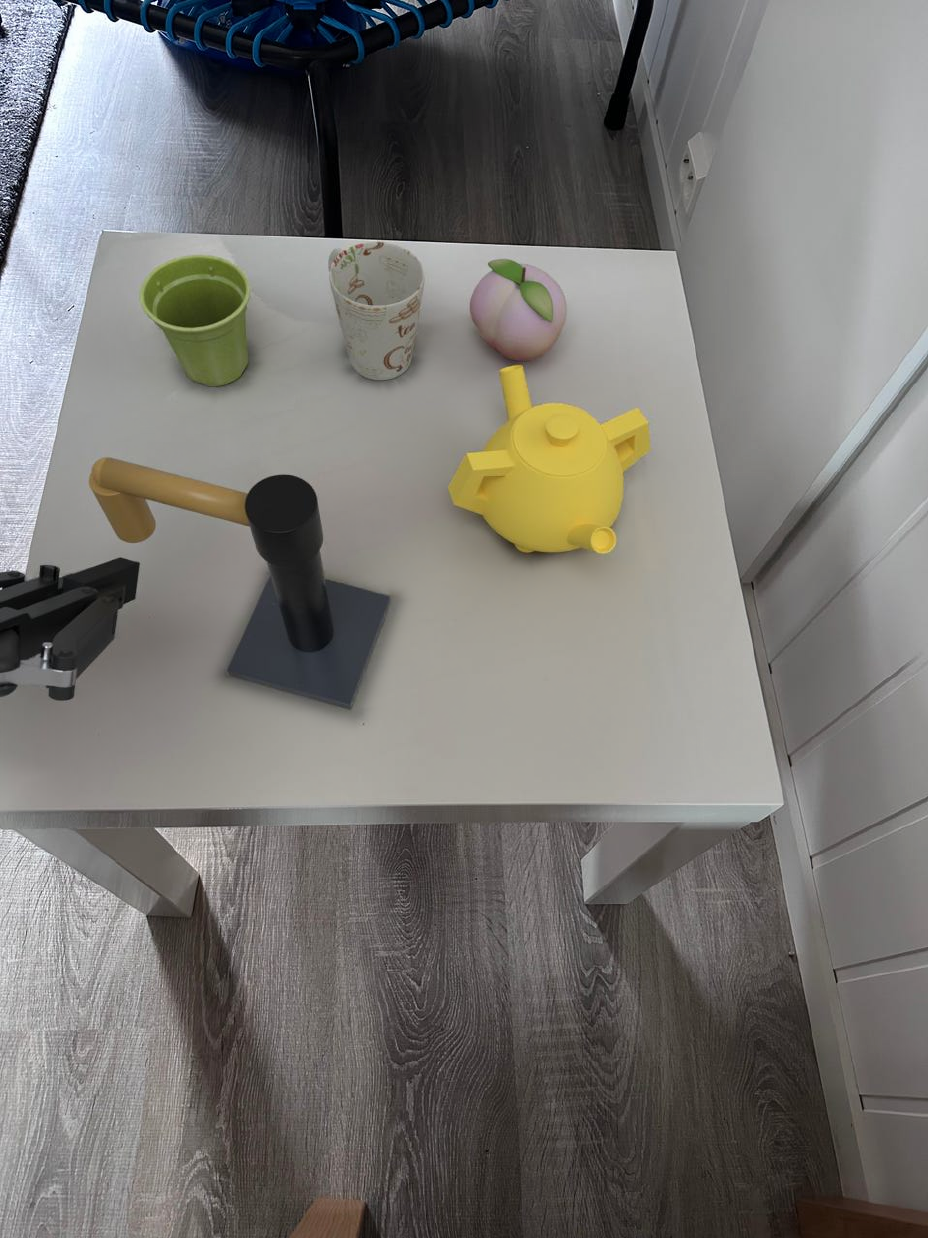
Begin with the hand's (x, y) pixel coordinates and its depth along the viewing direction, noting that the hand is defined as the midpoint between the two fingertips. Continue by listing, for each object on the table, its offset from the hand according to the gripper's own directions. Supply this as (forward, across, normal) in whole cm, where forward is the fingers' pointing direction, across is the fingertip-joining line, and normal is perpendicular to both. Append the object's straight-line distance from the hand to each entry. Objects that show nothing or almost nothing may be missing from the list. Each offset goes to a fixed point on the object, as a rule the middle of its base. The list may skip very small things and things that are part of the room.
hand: (127, 578), depth 59 cm
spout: (+2, -6, -3) cm, 7 cm away
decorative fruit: (+35, -19, -21) cm, 45 cm away
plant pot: (+27, +8, -13) cm, 31 cm away
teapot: (+22, -26, -9) cm, 35 cm away
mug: (+32, -5, -18) cm, 37 cm away
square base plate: (+9, -11, +4) cm, 15 cm away
